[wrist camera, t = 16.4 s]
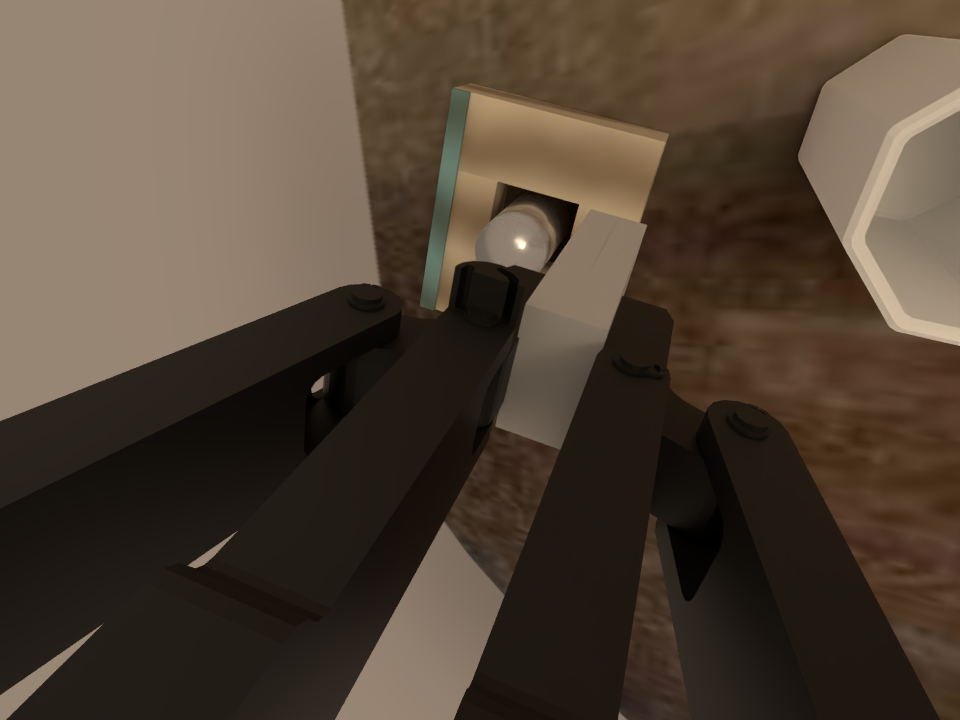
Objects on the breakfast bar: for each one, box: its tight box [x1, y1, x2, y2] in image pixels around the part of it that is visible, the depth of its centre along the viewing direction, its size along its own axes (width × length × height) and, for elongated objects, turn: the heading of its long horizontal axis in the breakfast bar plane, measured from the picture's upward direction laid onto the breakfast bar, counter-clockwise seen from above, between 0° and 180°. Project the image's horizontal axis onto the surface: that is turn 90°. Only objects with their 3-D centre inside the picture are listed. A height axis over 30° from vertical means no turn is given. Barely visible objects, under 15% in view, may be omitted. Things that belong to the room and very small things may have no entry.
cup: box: [798, 34, 960, 346], centre depth 30 cm, size 11×11×18 cm
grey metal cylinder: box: [475, 190, 570, 272], centre depth 44 cm, size 5×5×8 cm
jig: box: [420, 83, 670, 312], centre depth 46 cm, size 16×14×4 cm
